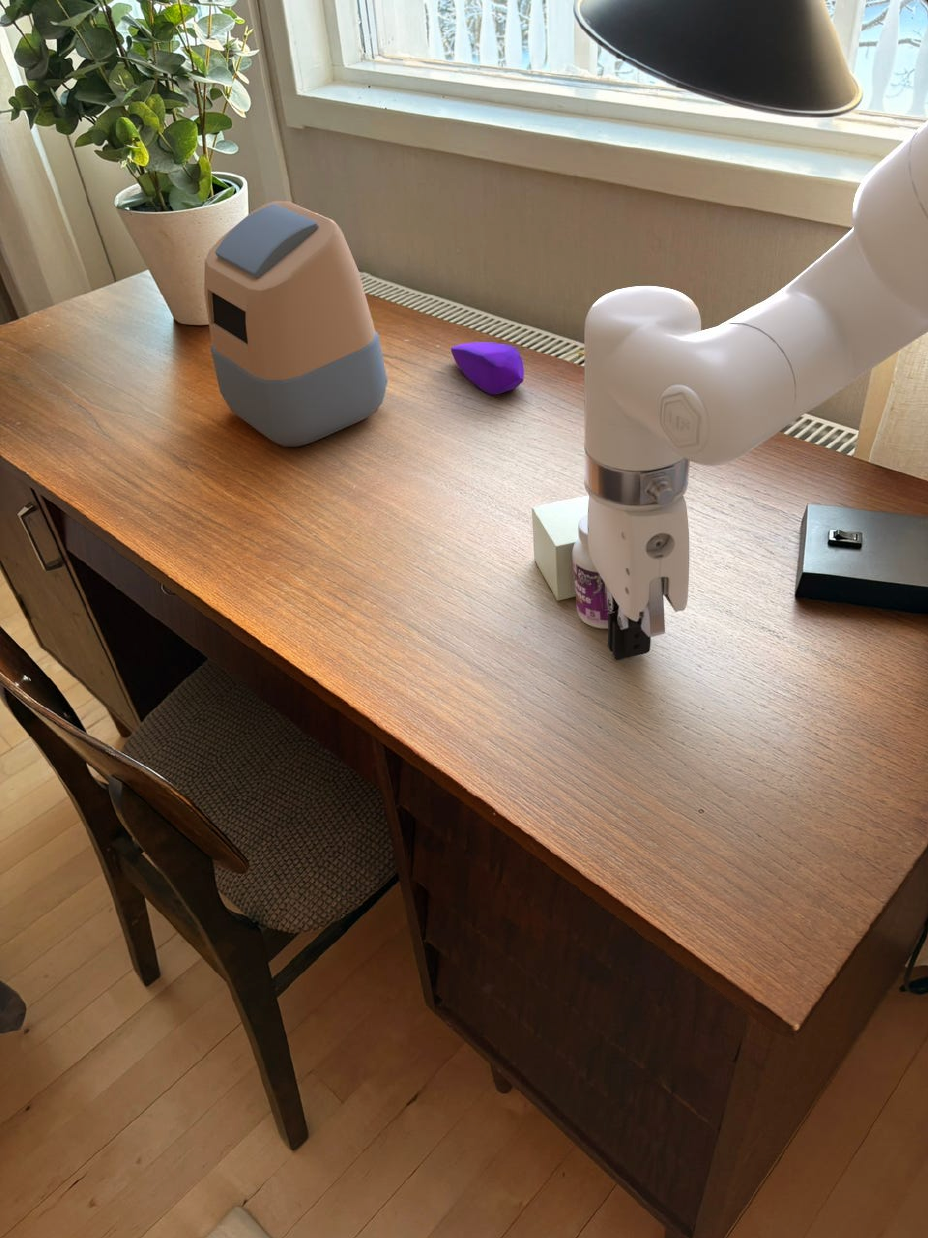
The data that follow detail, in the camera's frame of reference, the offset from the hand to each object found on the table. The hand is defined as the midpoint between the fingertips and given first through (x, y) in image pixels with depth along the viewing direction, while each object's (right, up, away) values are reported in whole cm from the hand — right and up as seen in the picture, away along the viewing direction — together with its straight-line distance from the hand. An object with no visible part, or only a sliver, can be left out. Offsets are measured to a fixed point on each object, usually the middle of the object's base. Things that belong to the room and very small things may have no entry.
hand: (628, 650), depth 80 cm
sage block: (-3, +7, +9) cm, 12 cm away
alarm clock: (-33, +28, +36) cm, 56 cm away
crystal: (-11, +33, +39) cm, 52 cm away
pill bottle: (-1, +3, +5) cm, 6 cm away
